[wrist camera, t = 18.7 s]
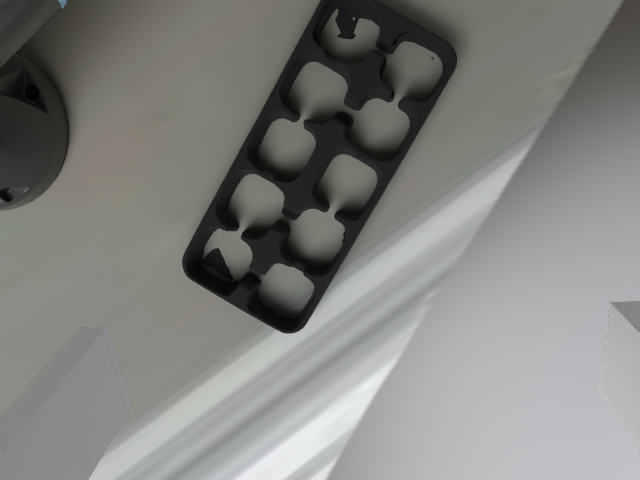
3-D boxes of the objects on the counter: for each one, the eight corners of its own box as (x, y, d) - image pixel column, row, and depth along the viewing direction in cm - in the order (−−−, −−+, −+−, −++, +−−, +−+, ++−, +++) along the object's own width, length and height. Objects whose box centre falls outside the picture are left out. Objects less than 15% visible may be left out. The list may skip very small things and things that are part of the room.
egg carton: (182, 289, 50) (169, 297, 46) (273, -25, 46) (267, -44, 42) (356, 346, 49) (357, 359, 45) (462, 34, 45) (472, 20, 42)
